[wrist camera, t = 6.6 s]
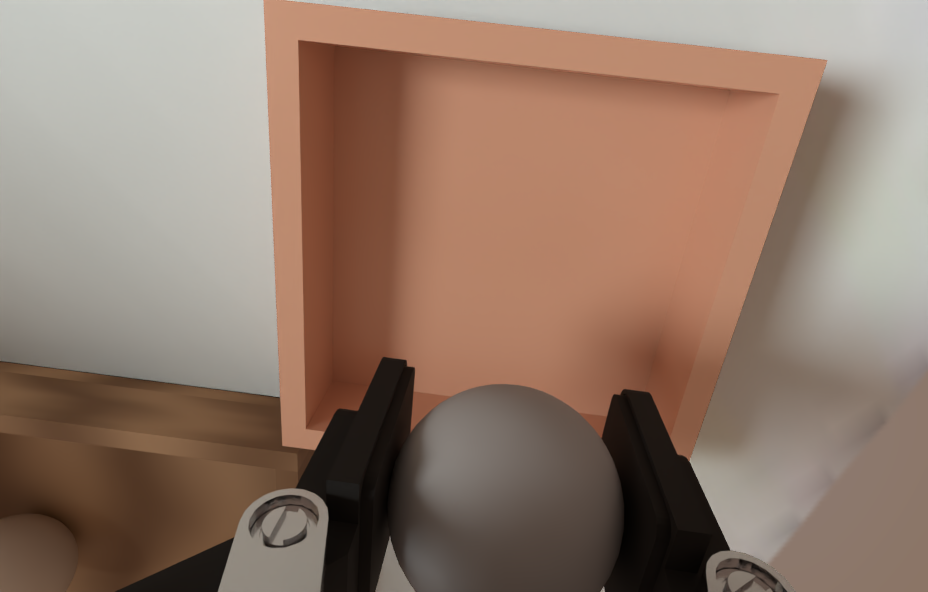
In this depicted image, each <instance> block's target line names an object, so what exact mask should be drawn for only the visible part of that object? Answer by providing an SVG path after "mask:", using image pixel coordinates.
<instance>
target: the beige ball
mask: <svg viewBox="0 0 928 592" xmlns="http://www.w3.org/2000/svg"><path fill="white" fill-rule="evenodd" d="M77 564H78V547H77V543H76V540H75V538H74V536H73V534H72V533H71V531H70V530H69V529H68V528H67V527H66V526H65V525H64V524H63V523H61V522H60V521H58V520H56V519H54V518H52V517H49V516H45V515H41V514H18V515H13V516H8V517H5V518H2V519H0V592H65V591H66V590H67V589H68V587H69V585H70V583H71V581H72V579H73V577H74V575H75V572H76V568H77Z"/></svg>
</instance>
